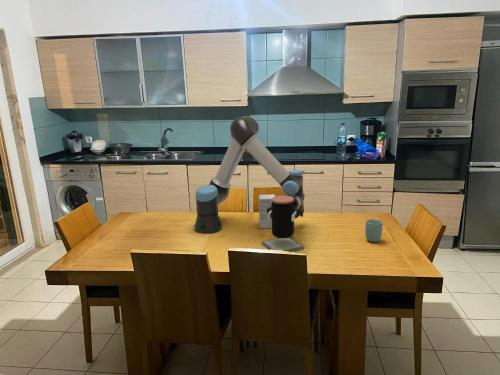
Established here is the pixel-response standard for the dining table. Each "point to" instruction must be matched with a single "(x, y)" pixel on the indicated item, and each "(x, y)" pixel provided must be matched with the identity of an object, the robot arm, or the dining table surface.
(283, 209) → the coffee jar
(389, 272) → the dining table surface
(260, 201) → the supplement box
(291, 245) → the mat
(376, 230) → the cup
